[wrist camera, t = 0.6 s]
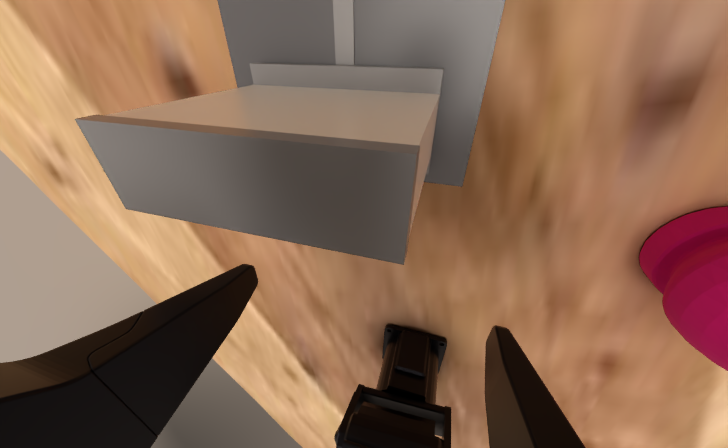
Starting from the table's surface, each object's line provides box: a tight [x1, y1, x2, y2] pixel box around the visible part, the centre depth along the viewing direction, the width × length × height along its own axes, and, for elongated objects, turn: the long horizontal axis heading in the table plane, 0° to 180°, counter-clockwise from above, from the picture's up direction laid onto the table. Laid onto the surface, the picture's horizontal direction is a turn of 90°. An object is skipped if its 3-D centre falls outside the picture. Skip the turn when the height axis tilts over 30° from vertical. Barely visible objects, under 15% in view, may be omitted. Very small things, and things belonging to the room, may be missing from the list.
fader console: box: [218, 0, 505, 187], centre depth 14 cm, size 17×14×3 cm
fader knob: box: [75, 63, 444, 265], centre depth 11 cm, size 5×10×9 cm, turn 89°
